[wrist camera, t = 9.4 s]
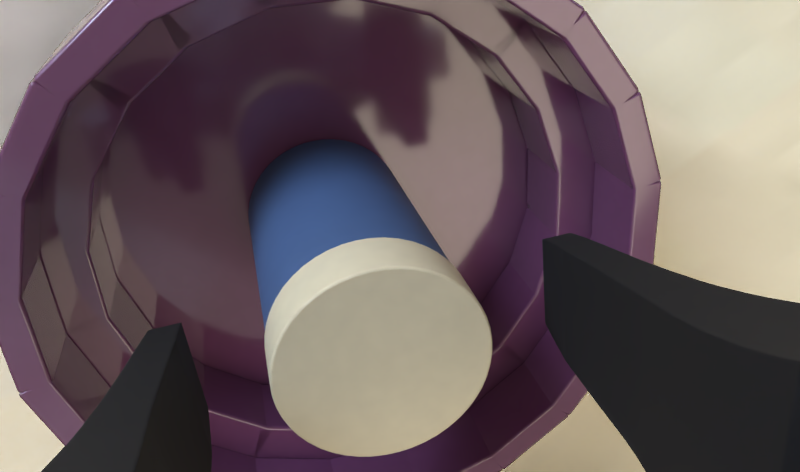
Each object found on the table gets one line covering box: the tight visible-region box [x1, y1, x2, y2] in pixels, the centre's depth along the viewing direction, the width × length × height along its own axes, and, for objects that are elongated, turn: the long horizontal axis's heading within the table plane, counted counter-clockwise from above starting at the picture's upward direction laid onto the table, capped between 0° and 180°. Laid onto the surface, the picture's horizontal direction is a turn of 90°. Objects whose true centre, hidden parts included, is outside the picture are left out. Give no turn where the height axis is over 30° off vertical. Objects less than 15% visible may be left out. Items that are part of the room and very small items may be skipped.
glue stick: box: [248, 139, 492, 457], centre depth 16 cm, size 4×4×7 cm
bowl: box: [0, 0, 661, 472], centre depth 18 cm, size 14×14×4 cm
